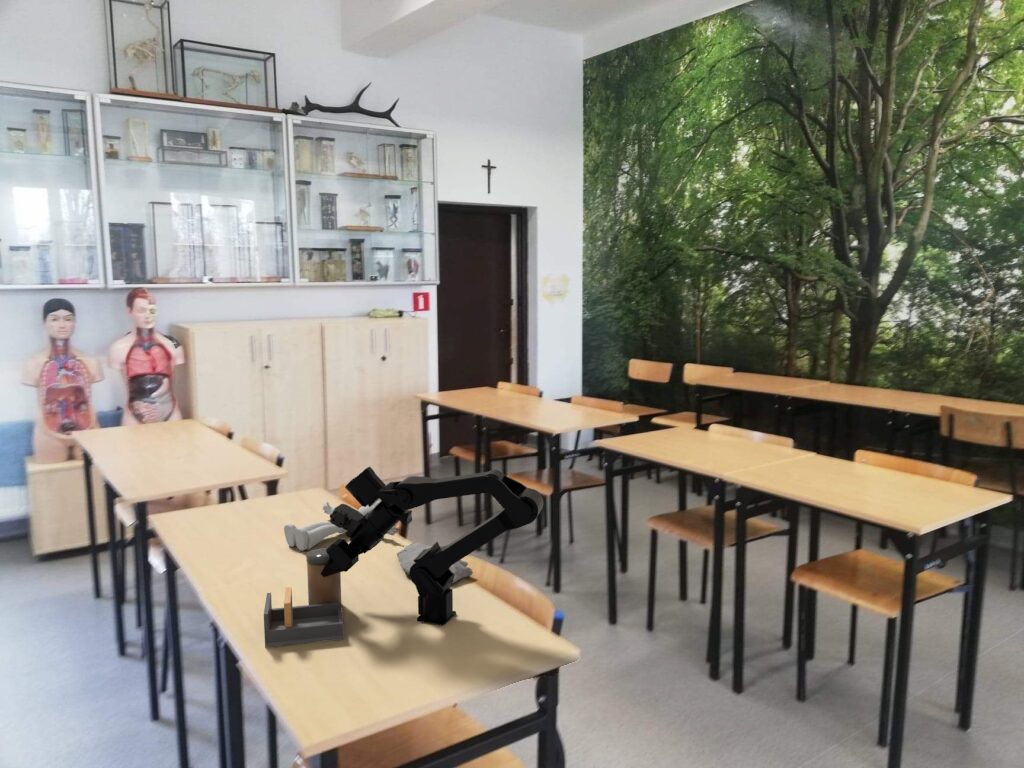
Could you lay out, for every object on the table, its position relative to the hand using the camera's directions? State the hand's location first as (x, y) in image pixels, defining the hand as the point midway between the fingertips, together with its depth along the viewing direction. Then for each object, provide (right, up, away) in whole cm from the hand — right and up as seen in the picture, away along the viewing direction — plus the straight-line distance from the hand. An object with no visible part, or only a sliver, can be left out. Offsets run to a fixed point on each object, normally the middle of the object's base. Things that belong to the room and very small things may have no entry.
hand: (331, 567), depth 170 cm
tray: (-3, -11, -10) cm, 15 cm away
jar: (-2, -9, +2) cm, 9 cm away
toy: (-9, -3, +49) cm, 50 cm away
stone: (+19, -7, +24) cm, 31 cm away
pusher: (-6, -10, -11) cm, 16 cm away
